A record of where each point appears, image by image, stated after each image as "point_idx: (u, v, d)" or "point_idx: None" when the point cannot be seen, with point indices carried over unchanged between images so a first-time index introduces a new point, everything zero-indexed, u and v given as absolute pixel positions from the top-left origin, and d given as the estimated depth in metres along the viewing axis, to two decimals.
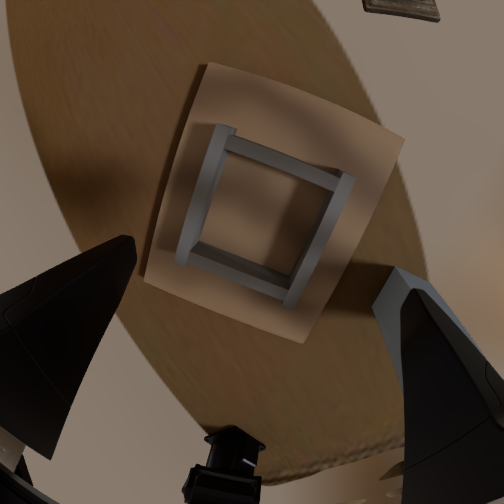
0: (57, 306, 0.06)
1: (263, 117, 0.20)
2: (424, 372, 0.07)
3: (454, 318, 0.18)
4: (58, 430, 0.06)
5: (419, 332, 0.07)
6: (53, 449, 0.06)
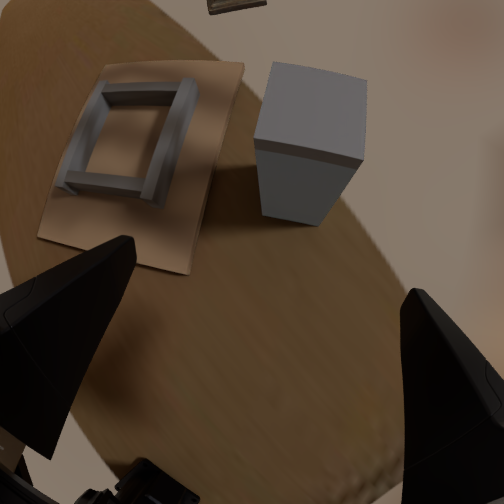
0: (57, 306, 0.06)
1: (135, 82, 0.25)
2: (424, 372, 0.07)
3: None
4: (58, 430, 0.06)
5: (419, 332, 0.07)
6: (53, 449, 0.06)
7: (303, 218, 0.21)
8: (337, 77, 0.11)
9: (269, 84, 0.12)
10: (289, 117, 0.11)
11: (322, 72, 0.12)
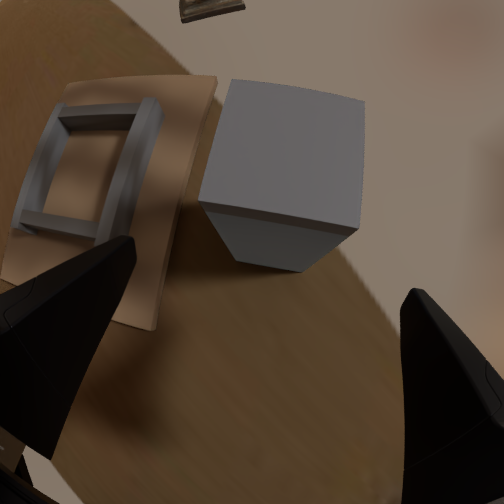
0: (57, 306, 0.06)
1: (96, 102, 0.21)
2: (424, 372, 0.07)
3: None
4: (58, 430, 0.06)
5: (419, 332, 0.07)
6: (53, 449, 0.06)
7: (283, 266, 0.18)
8: (322, 98, 0.08)
9: (224, 114, 0.08)
10: (250, 165, 0.08)
11: (301, 91, 0.08)
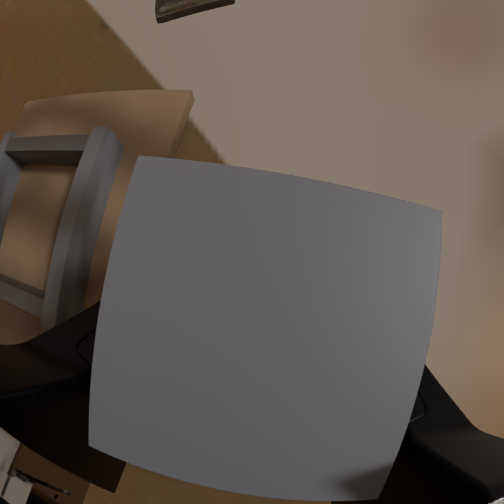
0: None
1: (51, 128, 0.17)
2: None
3: None
4: (124, 461, 0.06)
5: None
6: (118, 481, 0.06)
7: None
8: (351, 210, 0.04)
9: (114, 261, 0.04)
10: (171, 402, 0.03)
11: (300, 190, 0.04)
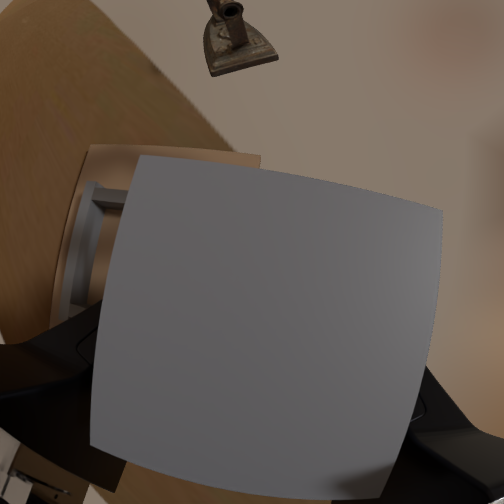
0: None
1: (129, 176, 0.23)
2: None
3: None
4: (124, 461, 0.06)
5: None
6: (118, 481, 0.06)
7: None
8: (352, 209, 0.04)
9: (116, 260, 0.04)
10: (174, 401, 0.03)
11: (302, 189, 0.04)
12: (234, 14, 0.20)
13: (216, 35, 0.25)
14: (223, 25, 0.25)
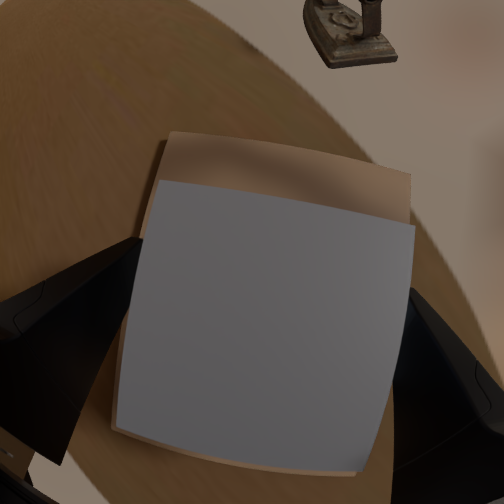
0: (68, 310, 0.06)
1: (243, 182, 0.17)
2: (413, 371, 0.07)
3: None
4: (68, 435, 0.06)
5: (408, 331, 0.07)
6: (63, 455, 0.06)
7: None
8: (336, 227, 0.05)
9: (142, 269, 0.05)
10: (190, 384, 0.04)
11: (294, 210, 0.05)
12: (372, 0, 0.14)
13: (327, 20, 0.19)
14: (331, 10, 0.19)
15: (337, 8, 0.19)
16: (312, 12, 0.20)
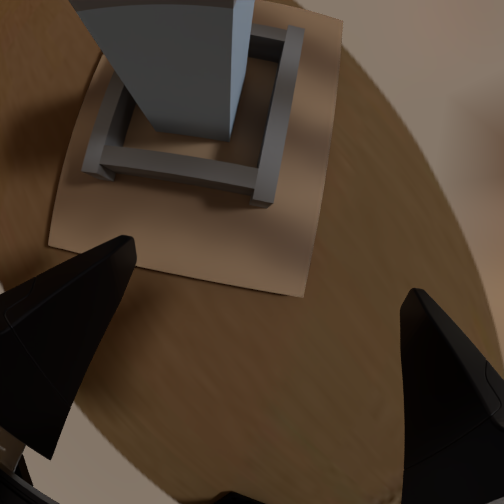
0: (57, 306, 0.06)
1: None
2: (424, 372, 0.07)
3: None
4: (58, 430, 0.06)
5: (419, 332, 0.07)
6: (53, 449, 0.06)
7: (204, 130, 0.15)
8: None
9: None
10: None
11: None
12: None
13: None
14: None
15: None
16: None
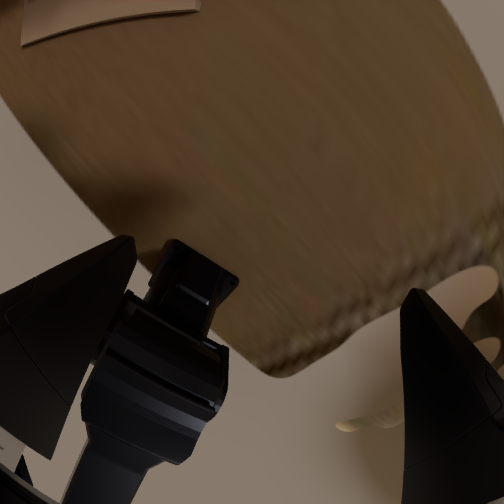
0: (57, 306, 0.06)
1: None
2: (424, 372, 0.07)
3: None
4: (58, 430, 0.06)
5: (419, 332, 0.07)
6: (53, 449, 0.06)
7: None
8: None
9: None
10: None
11: None
12: None
13: None
14: None
15: None
16: None
